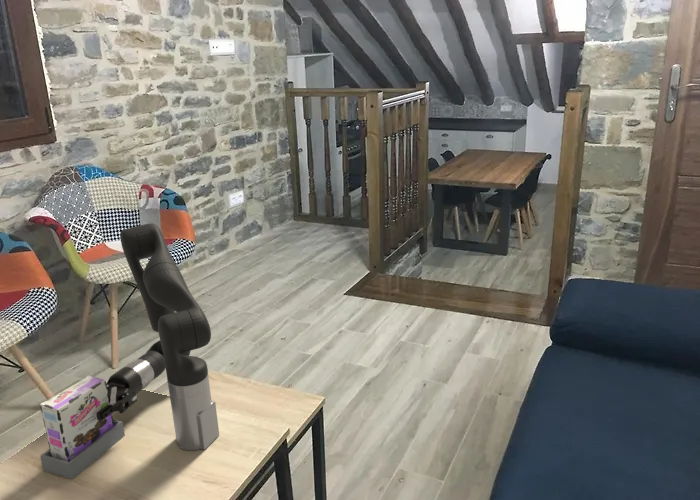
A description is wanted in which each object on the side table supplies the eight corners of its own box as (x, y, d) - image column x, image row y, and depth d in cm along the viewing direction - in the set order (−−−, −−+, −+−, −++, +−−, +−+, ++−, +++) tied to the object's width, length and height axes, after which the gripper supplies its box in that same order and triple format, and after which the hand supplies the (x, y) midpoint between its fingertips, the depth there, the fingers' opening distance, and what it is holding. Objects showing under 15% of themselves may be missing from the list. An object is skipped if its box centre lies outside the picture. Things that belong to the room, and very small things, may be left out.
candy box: (70, 472, 134) (56, 409, 128) (52, 465, 136) (37, 403, 131) (117, 437, 145) (106, 378, 140) (100, 432, 148) (88, 373, 143)
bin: (124, 435, 146) (122, 421, 145) (72, 479, 131) (69, 464, 130) (97, 428, 149) (94, 415, 148) (43, 470, 135) (40, 455, 133)
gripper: (107, 362, 154) (57, 394, 140) (152, 370, 149) (105, 405, 135) (112, 387, 157) (63, 422, 142) (156, 396, 152) (110, 433, 137)
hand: (83, 414), depth 139 cm, fingers open, 8 cm apart
